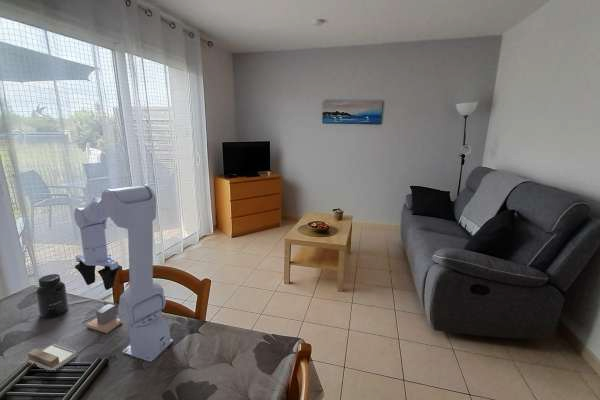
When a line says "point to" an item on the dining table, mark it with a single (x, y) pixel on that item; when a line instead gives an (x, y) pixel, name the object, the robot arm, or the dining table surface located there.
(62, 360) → the board
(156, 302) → the robot arm
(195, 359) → the dining table surface
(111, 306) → the grey and peach block
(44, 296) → the supplement bottle
